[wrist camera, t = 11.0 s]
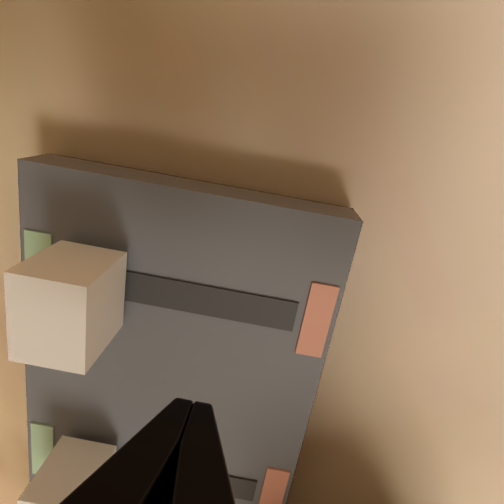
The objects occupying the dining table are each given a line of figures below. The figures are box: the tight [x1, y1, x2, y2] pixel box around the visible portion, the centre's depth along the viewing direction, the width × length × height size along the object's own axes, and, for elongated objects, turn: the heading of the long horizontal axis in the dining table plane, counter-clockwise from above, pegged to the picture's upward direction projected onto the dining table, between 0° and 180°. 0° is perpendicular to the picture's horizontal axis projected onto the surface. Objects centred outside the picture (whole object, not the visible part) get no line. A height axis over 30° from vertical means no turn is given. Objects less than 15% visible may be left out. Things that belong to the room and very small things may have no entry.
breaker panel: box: [17, 154, 363, 504], centre depth 18 cm, size 12×25×2 cm, turn 171°
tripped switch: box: [4, 240, 127, 375], centre depth 13 cm, size 2×3×3 cm
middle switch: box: [18, 435, 117, 504], centre depth 16 cm, size 2×3×3 cm
